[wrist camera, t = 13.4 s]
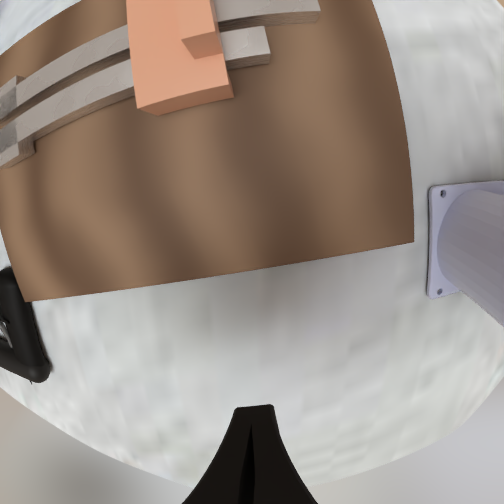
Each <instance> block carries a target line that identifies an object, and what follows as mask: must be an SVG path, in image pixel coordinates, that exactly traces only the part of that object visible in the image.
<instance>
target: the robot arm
mask: <svg viewBox="0 0 504 504" xmlns="http://www.w3.org/2000/svg"><path fill="white" fill-rule="evenodd" d="M441 191H443V195H442V196H441V195H440V193H441ZM429 212H430V246H429V270H428V284H427V296H428V297H429V298H430V299H435V298H439V297H442V296H446V295H449V294H452V293H456V292H459V291H462V292H463V293H464V294H466V295H467V296H468V297H469V298H470V299H472V300H473V301H474V302H475V303H476V304H478V305H479V306H480V307H481V308H482V309H484V310H485V311H486V312H487V313H488V314H489V315H490V316H492V317H493V318H494V319H495V320H496V321H497V322H498V323H500V324H501V325H502V326H503V327H504V180H499V181H485V182H473V183H461V184H450V185H440V186H433V187H431V189H430V191H429ZM439 289H440V290H439ZM438 290H439V292H437V291H438ZM182 504H318V503H317V502H316V501H315V499H314V498H313V497H312V495H311V493H310V492H309V491H308V489H307V487H306V486H305V484H304V483H303V481H302V480H301V478H300V476H299V474H298V473H297V471H296V469H295V467H294V465H293V463H292V462H291V460H290V457H289V455H288V453H287V451H286V449H285V446H284V444H283V442H282V439H281V437H280V434H279V429H278V424H277V420H276V415H275V410H274V406H273V405H271V404H267V405H259V406H249V407H237V408H236V409H235V410H234V413H233V416H232V419H231V422H230V425H229V427H228V430H227V432H226V434H225V436H224V439H223V441H222V443H221V445H220V447H219V449H218V451H217V453H216V455H215V457H214V459H213V460H212V462H211V464H210V465H209V467H208V469H207V470H206V472H205V474H204V475H203V477H202V478H201V480H200V481H199V483H198V484H197V486H196V487H195V488H194V490H193V491H192V492H191V494H190V495H189V496H188V497H187V498H186V500H185V501H184V502H183V503H182Z"/></svg>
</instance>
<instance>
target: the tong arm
mask: <svg viewBox="0 0 504 504" xmlns="http://www.w3.org/2000/svg"><path fill="white" fill-rule="evenodd" d="M220 37H221V42H222V47H223V52H224V57H225V62H226V67H227V70H232V69H237V68H243V67H249V66H255V65H262V64H269V60H270V49H269V45H268V41H267V36H266V32H265V28H264V26H258V27H251V28H245V29H238V30H233V31H227V32H222V33H220ZM132 96H135V90H134V83H133V75H132V66H131V59H128V60H126V61H123V62H121V63H118V64H116V65H113V66H111V67H109V68H106V69H104V70H102V71H100V72H97V73H95V74H93V75H91V76H89V77H87V78H85V79H83V80H80V81H78V82H76V83H75V84H73V85H71V86H69V87H67V88H65V89H63V90H61V91H59V92H58V93H56V94H54V95H52V96H51V97H49V98H47V99H45V100H44V101H42V102H40V103H39V104H37V105H36V106H34V107H32V108H31V109H29V110H28V111H26V112H25V113H23V114H22V115H20V116H19V117H17V118H16V119H14V120H13V121H11V122H10V123H9V124H7V125H6V126H4V127H3V128H2V129H0V169H6V168H10V167H11V166H13V165H15V164H16V163H18V162H20V161H22V160H23V159H25V158H27V157H29V156H30V155H32V154H34V153H35V150H34V143H33V142H34V141H35V140H37V139H39V138H41V137H43V136H44V135H46V134H48V133H50V132H52V131H54V130H56V129H58V128H60V127H62V126H64V125H66V124H68V123H70V122H72V121H74V120H76V119H78V118H80V117H83V116H85V115H87V114H89V113H92V112H94V111H96V110H99V109H101V108H103V107H106V106H108V105H111V104H113V103H116V102H119V101H121V100H124V99H127V98H129V97H132Z"/></svg>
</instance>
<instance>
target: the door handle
mask: <svg viewBox="0 0 504 504" xmlns="http://www.w3.org/2000/svg"><path fill="white" fill-rule="evenodd" d="M3 322H5V324H6V327H5V325H4V324H3ZM0 329H1V331H2V332H3V334H4V336H5V337H6V339H7V341H8V342H7V341H4V340H2V339H0V367H2V368H4V369H6V370H8V371H10V372H13V373H15V374H17V375H19V376H21V377H24V378H26V379H28V380H30V382H31V381H33V382H36V383H41V382H44V381H45V380H47V378H48V377H49V374H50V366H49V363H48V361H47V360H46V358H45V357H44V356H43V353H42V350H41V346H40V343H39V339H38V336H37V332H36V329H35V325H34V321H33V317H32V313H31V308H30V304H29V302H25V300H24V298H23V295H22V293H21V290H20V288H19V285H18V283H17V280H16V277H15V275H14V272H13V269H9V268H7V269H3V270H1V271H0ZM31 384H32V382H31Z"/></svg>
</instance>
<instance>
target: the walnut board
mask: <svg viewBox="0 0 504 504" xmlns="http://www.w3.org/2000/svg"><path fill="white" fill-rule="evenodd" d="M318 3H319V6H320V10H321V12H320V14H319V16H318V18H317V20H316V22H315V23H306V24H289V25H278V26H268V27H264V28H265V32H266V36H267V41H268V45H269V49H270V60H269V64H262V65H255V66H249V67H243V68H237V69H232V70H227V72H228V75H229V78H230V81H231V84H232V89H233V94H234V98H229V99H224V100H219V101H214V102H210V103H205V104H201V105H197V106H193V107H189V108H185V109H181V110H177V111H173V112H170V113H166V114H163V115H159V116H157V115H154V114H151V113H148V112H146V111H143V110H140V109H137V104H136V97H135V96H132V97H129V98H127V99H124V100H121V101H119V102H116V103H113V104H111V105H108V106H106V107H103V108H101V109H99V110H96V111H94V112H92V113H89V114H87V115H85V116H83V117H80V118H78V119H76V120H74V121H72V122H70V123H68V124H66V125H64V126H62V127H60V128H58V129H56V130H54V131H52V132H50V133H48V134H46V135H44V136H43V137H41V138H39V139H37V140H35V141H34V142H33V143H34V150H35V153H34V154H32V155H30V156H29V157H27V158H25V159H23V160H22V161H20V162H18V163H16V164H15V165H13V166H11V167H10V168H6V169H0V229H1V233H2V237H3V240H4V244H5V247H6V251H7V254H8V257H9V260H10V263H11V266H12V269H13V272H14V275H15V277H16V280H17V283H18V285H19V288H20V290H21V293H22V295H23V298H24V300H25V302H31V301H39V300H48V299H56V298H64V297H71V296H79V295H87V294H94V293H102V292H109V291H117V290H124V289H131V288H138V287H145V286H152V285H159V284H166V283H173V282H179V281H186V280H193V279H199V278H206V277H212V276H219V275H225V274H232V273H238V272H244V271H251V270H257V269H263V268H269V267H275V266H281V265H287V264H293V263H299V262H305V261H311V260H317V259H323V258H329V257H334V256H340V255H346V254H352V253H357V252H363V251H368V250H374V249H379V248H385V247H390V246H396V245H401V244H406V243H412V242H414V209H413V191H412V178H411V167H410V158H409V150H408V142H407V135H406V128H405V122H404V116H403V111H402V105H401V100H400V95H399V91H398V86H397V82H396V77H395V73H394V69H393V65H392V61H391V58H390V54H389V51H388V47H387V44H386V40H385V37H384V34H383V31H382V28H381V25H380V22H379V19H378V16H377V13H376V10H375V8H374V5H373V2H372V0H318ZM125 25H127V8H126V0H81V1H80V2H78V3H76V4H74V5H72V6H70V7H69V8H67V9H65V10H64V11H62V12H60V13H59V14H57V15H55V16H54V17H52V18H51V19H49V20H47V21H46V22H44V23H43V24H41V25H40V26H38V27H37V28H35V29H34V30H33V31H31V32H30V33H28V34H27V35H26V36H24V37H23V38H22V39H20V40H19V41H18V42H16V43H15V44H14V45H13V46H11V47H10V48H9V49H8V50H6V51H5V52H4V53H3V54H2V55H0V88H1V87H2V86H3V85H4V84H6V83H7V82H8V81H9V80H11V79H12V78H13V77H15V76H16V75H17V76H22V77H27V78H28V77H29V76H31V75H32V74H33V73H35V72H36V71H38V70H40V69H41V68H43V67H44V66H46V65H47V64H49V63H51V62H52V61H54V60H56V59H57V58H59V57H61V56H63V55H64V54H66V53H68V52H70V51H72V50H73V49H75V48H77V47H79V46H81V45H83V44H85V43H87V42H89V41H91V40H93V39H95V38H97V37H99V36H101V35H104V34H106V33H108V32H110V31H113V30H115V29H117V28H120V27H122V26H125ZM3 127H4V126H0V129H2V128H3Z"/></svg>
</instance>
